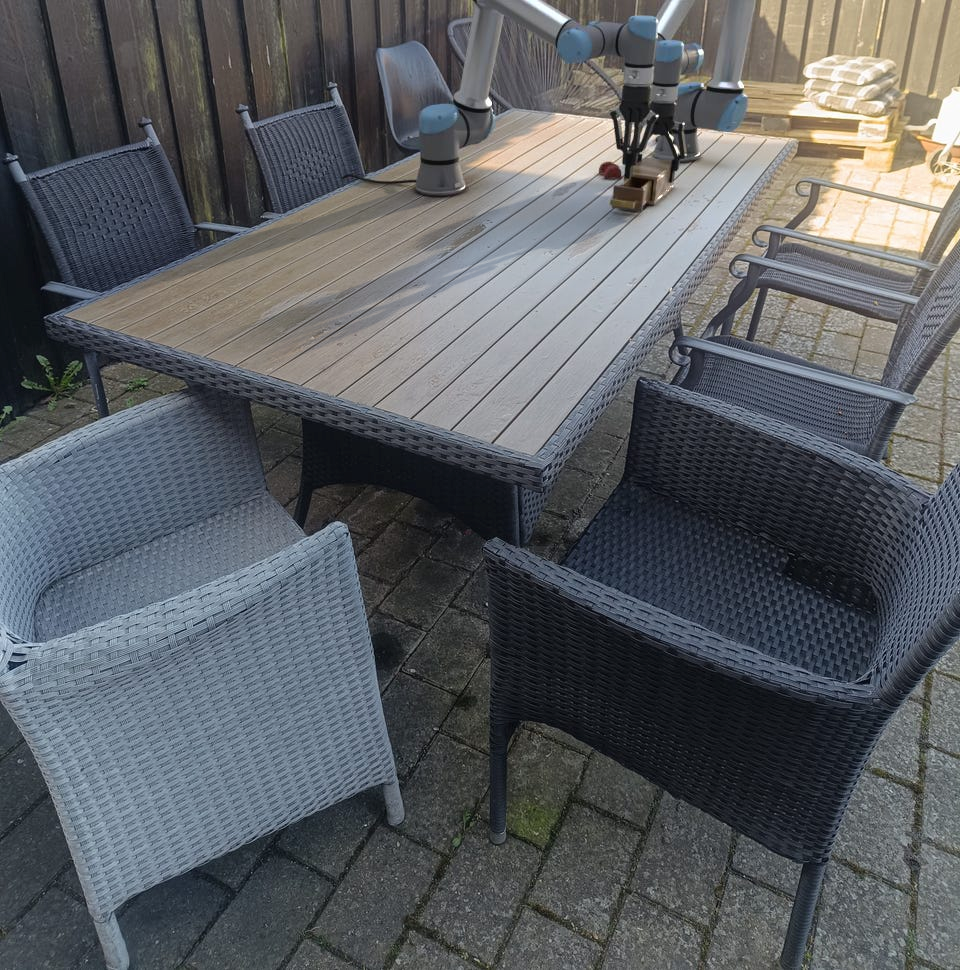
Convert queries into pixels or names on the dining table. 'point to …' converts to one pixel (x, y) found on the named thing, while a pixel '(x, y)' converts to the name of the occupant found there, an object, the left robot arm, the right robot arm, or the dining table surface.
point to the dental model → (610, 170)
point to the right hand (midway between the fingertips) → (654, 179)
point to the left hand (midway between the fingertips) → (628, 177)
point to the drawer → (632, 194)
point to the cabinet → (654, 176)
